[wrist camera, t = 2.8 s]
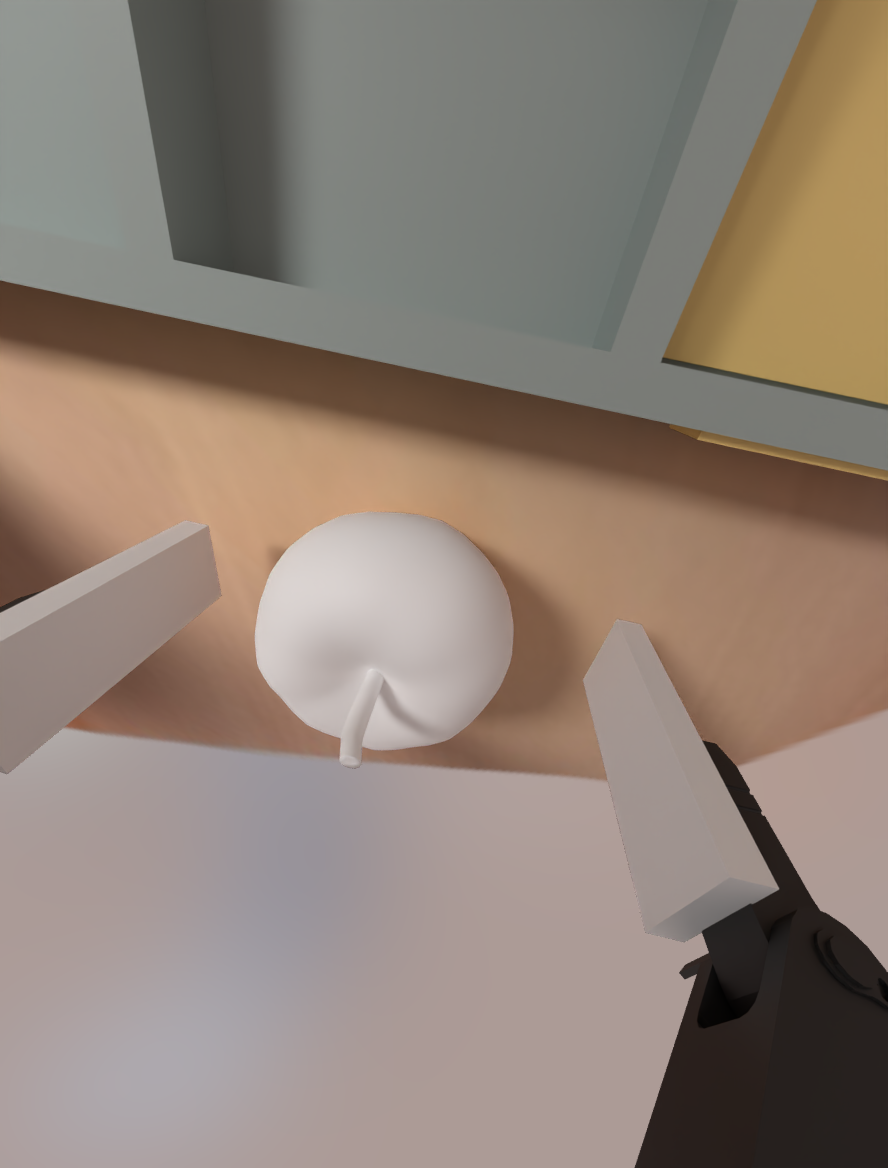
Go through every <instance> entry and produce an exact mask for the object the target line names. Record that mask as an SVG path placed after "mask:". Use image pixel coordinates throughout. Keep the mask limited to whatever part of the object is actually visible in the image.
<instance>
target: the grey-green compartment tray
mask: <svg viewBox="0 0 888 1168" xmlns="http://www.w3.org/2000/svg"><path fill="white" fill-rule="evenodd" d="M0 280H1V281H5V282H10V283H15V284H19V285H24V286H29V287H33V288H38V289H43V290H47V291H52V292H57V293H61V294H66V295H71V296H75V297H80V298H85V299H89V300H94V301H99V302H103V303H108V304H113V305H117V306H122V307H127V308H131V309H136V310H141V311H145V312H150V313H155V314H159V315H164V316H169V317H173V318H178V319H183V320H187V321H192V322H197V323H201V324H206V325H211V326H215V327H220V328H225V329H229V330H234V331H239V332H243V333H248V334H253V335H257V336H262V337H267V338H271V339H276V340H281V341H285V342H290V343H295V344H299V345H304V346H309V347H313V348H318V349H323V350H327V351H332V352H337V353H341V354H346V355H351V356H355V357H360V358H365V359H369V360H374V361H379V362H383V363H388V364H393V365H397V366H402V367H407V368H411V369H416V370H421V371H425V372H430V373H435V374H439V375H444V376H449V377H453V378H458V379H463V380H467V381H472V382H477V383H481V384H486V385H491V386H496V387H500V388H505V389H510V390H514V391H519V392H524V393H528V394H533V395H538V396H542V397H547V398H552V399H556V400H561V401H566V402H570V403H575V404H580V405H584V406H589V407H594V408H598V409H603V410H608V411H612V412H617V413H622V414H626V415H631V416H636V417H640V418H645V419H650V420H654V421H659V422H664V423H668V424H671V425H670V427H669V428H671V429H674V430H676V431H678V432H681V433H683V434H685V435H687V436H690V437H692V438H694V439H697V440H701V441H706V442H710V443H715V444H719V445H724V446H729V447H733V448H738V449H743V450H747V451H752V452H757V453H761V454H766V455H771V456H775V457H780V458H785V459H789V460H794V461H799V462H803V463H808V464H813V465H817V466H822V467H827V468H831V469H836V470H841V471H845V472H850V473H855V474H859V475H864V476H869V477H873V478H878V479H882V480H887V481H888V0H0Z"/></svg>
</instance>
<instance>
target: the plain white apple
mask: <svg viewBox="0 0 888 1168" xmlns="http://www.w3.org/2000/svg"><path fill="white" fill-rule="evenodd" d="M513 634H514V629H513V618H512V612H511V606H510V600H509V597H508V593H507V591H506V589H505V587H504V585H503V583H502V580H501V578H500V576H499V574H498V572H497V571H496V569H495V568H494V567H493V565H492V564H491V563H490V562H489V560H488V559H487V558H486V557H485V555H484V554H483V553H482V552H481V551H480V550H479V549H478V548H477V547H476V546H475V545H474V544H473V543H472V542H471V541H470V540H469V539H468V538H467V537H466V536H465V535H464V534H462V533H461V532H459V531H458V530H456V529H455V528H453V527H451V526H450V525H448V524H447V523H445V522H443V521H442V520H438V519H434V518H430V517H427V516H423V515H418V514H407V513H396V512H362V513H354V514H347V515H342V516H339V517H337V518H335V519H333V520H330V521H328V522H326V523H324V524H321V525H319V526H317V527H315V528H313V529H311V530H310V531H309V532H307V533H306V534H305V535H304V536H302V537H301V538H300V539H298V540H297V541H296V542H294V543H293V544H292V545H291V546H290V547H289V548H288V549H287V550H286V551H285V552H284V554H283V555H282V557H281V558H280V559H279V561H278V562H277V563H276V565H275V566H274V568H273V569H272V571H271V573H270V574H269V577H268V580H267V583H266V586H265V589H264V592H263V595H262V598H261V600H260V604H259V610H258V616H257V622H256V629H255V647H256V658H257V665H258V668H259V669H260V671H261V673H262V675H263V677H264V678H265V680H266V681H267V683H268V685H269V686H270V687H271V688H272V689H273V690H274V691H275V692H276V693H277V694H278V695H279V696H280V697H281V698H282V700H283V701H284V702H285V703H286V705H287V706H288V707H289V708H290V709H291V711H292V712H294V713H295V714H296V715H297V716H298V717H299V718H300V719H301V720H302V721H303V722H304V723H305V724H307V725H308V726H310V727H312V728H314V729H317V730H319V731H321V732H323V733H326V734H329V735H332V736H335V737H338V738H341V745H340V763H341V764H342V765H343V766H346V767H348V768H358V767H360V766H361V762H362V747H365V748H368V749H372V750H398V749H405V748H411V747H419V746H429V745H433V744H436V743H440V742H444V741H446V740H449V739H451V738H452V737H454V736H455V735H456V734H458V733H459V732H460V731H462V730H463V729H464V728H466V727H467V726H468V725H469V724H470V723H472V721H473V720H474V719H475V718H476V717H477V716H478V715H479V714H480V713H481V712H482V710H483V709H484V708H485V707H486V706H487V704H488V703H489V702H490V701H491V699H492V698H493V697H494V695H495V694H496V693H497V691H498V690H499V689H500V686H501V684H502V682H503V680H504V677H505V675H506V673H507V670H508V668H509V665H510V662H511V657H512V649H513Z"/></svg>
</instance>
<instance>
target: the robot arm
mask: <svg viewBox="0 0 888 1168" xmlns="http://www.w3.org/2000/svg"><path fill="white" fill-rule="evenodd" d="M221 596H222V595H221V589H220V584H219V579H218V573H217V568H216V563H215V558H214V552H213V547H212V542H211V536H210V531H209V526H208V525H204V524H200V523H195V522H191V521H186V520H185V521H183V522H181V523H179V524H177V525H175V526H173V527H171V528H169V529H167V530H165V531H163V532H161V533H159V534H157V535H155V536H153V537H151V538H149V539H147V540H145V541H143V542H141V543H139V544H137V545H135V546H133V547H131V548H129V549H127V550H125V551H123V552H121V553H119V554H117V555H115V556H113V557H111V558H109V559H107V560H105V561H103V562H101V563H99V564H97V565H95V566H93V567H91V568H89V569H87V570H85V571H83V572H81V573H79V574H77V575H75V576H73V577H71V578H69V579H67V580H65V581H63V582H61V583H59V584H57V585H55V586H53V587H51V588H49V589H47V590H44V591H41V592H37V593H34V594H31V595H28V596H24V597H21V598H18V599H16V600H14V601H12V602H10V603H8V604H6V605H4V606H2V607H0V772H2V773H5V774H8V773H9V772H11V771H12V770H13V769H14V768H16V767H17V766H18V765H19V764H20V763H22V762H23V761H24V760H25V759H26V758H28V757H29V756H30V755H31V754H32V753H34V752H35V751H36V750H37V749H38V748H40V747H41V746H42V745H43V744H44V743H46V742H47V741H48V740H49V739H50V738H52V737H53V736H54V735H55V734H56V733H58V732H59V731H60V730H61V729H62V728H64V727H65V726H66V725H67V724H68V723H70V722H71V721H72V720H73V719H74V718H76V717H77V716H78V715H79V714H80V713H82V712H83V711H84V710H85V709H86V708H88V707H89V706H90V705H91V704H92V703H94V702H95V701H96V700H97V699H98V698H100V697H101V696H102V695H103V694H105V693H106V692H107V691H108V690H109V689H111V688H112V687H113V686H114V685H115V684H117V683H118V682H119V681H120V680H121V679H123V678H124V677H125V676H126V675H127V674H129V673H130V672H131V671H132V670H133V669H135V668H136V667H137V666H138V665H139V664H141V663H142V662H143V661H144V660H145V659H147V658H148V657H149V656H150V655H151V654H153V653H154V652H155V651H156V650H157V649H159V648H160V647H161V646H162V645H163V644H165V643H166V642H167V641H168V640H169V639H171V638H172V637H173V636H174V635H175V634H177V633H178V632H179V631H180V630H181V629H183V628H184V627H185V626H186V625H187V624H189V623H190V622H191V621H192V620H193V619H195V618H196V617H197V616H198V615H199V614H201V613H202V612H203V611H204V610H205V609H207V608H208V607H209V606H210V605H211V604H213V603H214V602H215V601H216V600H217V599H219V598H220V597H221ZM583 683H584V687H585V691H586V695H587V699H588V703H589V707H590V711H591V715H592V719H593V723H594V727H595V731H596V735H597V739H598V744H599V748H600V752H601V756H602V760H603V764H604V768H605V772H606V776H607V780H608V784H609V788H610V792H611V796H612V800H613V804H614V808H615V812H616V816H617V820H618V824H619V829H620V832H621V836H622V841H623V845H624V849H625V853H626V856H627V861H628V865H629V869H630V873H631V877H632V881H633V885H634V889H635V893H636V897H637V901H638V905H639V909H640V913H641V917H642V922H643V926H644V930H645V933H648V934H652V935H656V936H660V937H665V938H668V939H672V940H676V941H681V942H686V941H688V940H689V939H691V938H693V937H695V936H697V935H698V934H700V933H702V934H703V937H704V939H705V942H706V945H707V948H708V951H709V953H708V954H706V955H704V956H702V957H700V958H698V959H696V960H694V961H692V962H690V963H688V964H686V965H685V966H684V967H683V969H682V970H681V971H680V972H679V973H680V974H681V976H682V977H683V978H684V979H687V978H689V977H691V976H693V975H696V974H697V976H696V979H695V982H694V985H693V988H692V991H691V994H690V998H689V1001H688V1004H687V1007H686V1010H685V1013H684V1016H683V1019H682V1022H681V1025H680V1029H679V1032H678V1035H677V1038H676V1041H675V1044H674V1047H673V1050H672V1053H671V1057H670V1060H669V1063H668V1066H667V1069H666V1072H665V1075H664V1078H663V1081H662V1084H661V1088H660V1091H659V1094H658V1097H657V1100H656V1103H655V1107H654V1110H653V1112H652V1116H651V1119H650V1122H649V1125H648V1128H647V1132H646V1134H645V1138H644V1141H643V1144H642V1147H641V1150H640V1153H639V1156H638V1159H637V1162H636V1165H635V1168H888V972H886V970H885V968H884V967H883V966H882V965H881V963H880V962H879V961H878V960H877V958H876V957H875V956H874V955H873V953H872V952H871V951H870V949H869V948H868V947H867V946H866V945H865V944H864V943H863V942H862V941H861V940H860V939H859V938H858V937H857V936H856V935H855V934H854V933H853V932H851V931H850V930H849V929H848V928H847V927H846V926H845V925H843V924H842V923H840V922H839V921H837V920H836V919H834V918H833V917H831V916H830V915H828V914H827V913H824V912H822V911H820V910H819V908H818V907H817V905H816V904H815V902H814V901H813V899H812V898H811V896H810V894H809V892H808V891H807V889H806V887H805V885H804V884H803V882H802V880H801V878H800V877H799V875H798V873H797V871H796V870H795V868H794V866H793V864H792V863H791V861H790V859H789V857H788V856H787V854H786V852H785V851H784V849H783V847H782V845H781V844H780V842H779V840H778V839H777V837H776V835H775V833H774V831H773V830H772V828H771V826H770V824H769V822H768V821H767V819H766V817H765V816H762V814H761V811H762V810H761V809H760V807H759V805H758V803H757V802H756V800H755V798H754V796H753V795H750V793H749V791H750V789H749V788H748V786H747V784H746V782H745V781H744V779H743V777H742V775H741V774H740V772H739V770H738V768H737V767H736V765H735V764H734V763H733V762H732V761H731V760H730V759H729V758H728V756H727V755H726V754H725V753H724V752H723V751H722V750H721V749H720V748H719V747H718V745H717V744H715V743H711V742H706V741H702V740H701V738H700V736H699V734H698V732H697V730H696V728H695V726H694V724H693V722H692V721H691V719H690V717H689V715H688V713H687V711H686V709H685V707H684V705H683V703H682V701H681V699H680V698H679V696H678V694H677V692H676V690H675V688H674V686H673V684H672V682H671V680H670V678H669V676H668V674H667V673H666V671H665V669H664V667H663V665H662V663H661V661H660V659H659V657H658V655H657V653H656V651H655V650H654V648H653V646H652V644H651V642H650V640H649V638H648V636H647V634H646V632H645V630H644V628H643V627H642V625H641V624H637V623H633V622H629V621H624V620H620V619H616V621H615V623H614V625H613V627H612V628H611V630H610V632H609V634H608V636H607V637H606V639H605V641H604V643H603V645H602V646H601V648H600V650H599V652H598V654H597V655H596V657H595V659H594V661H593V663H592V664H591V666H590V668H589V670H588V672H587V673H586V675H585V677H584V679H583Z"/></svg>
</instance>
